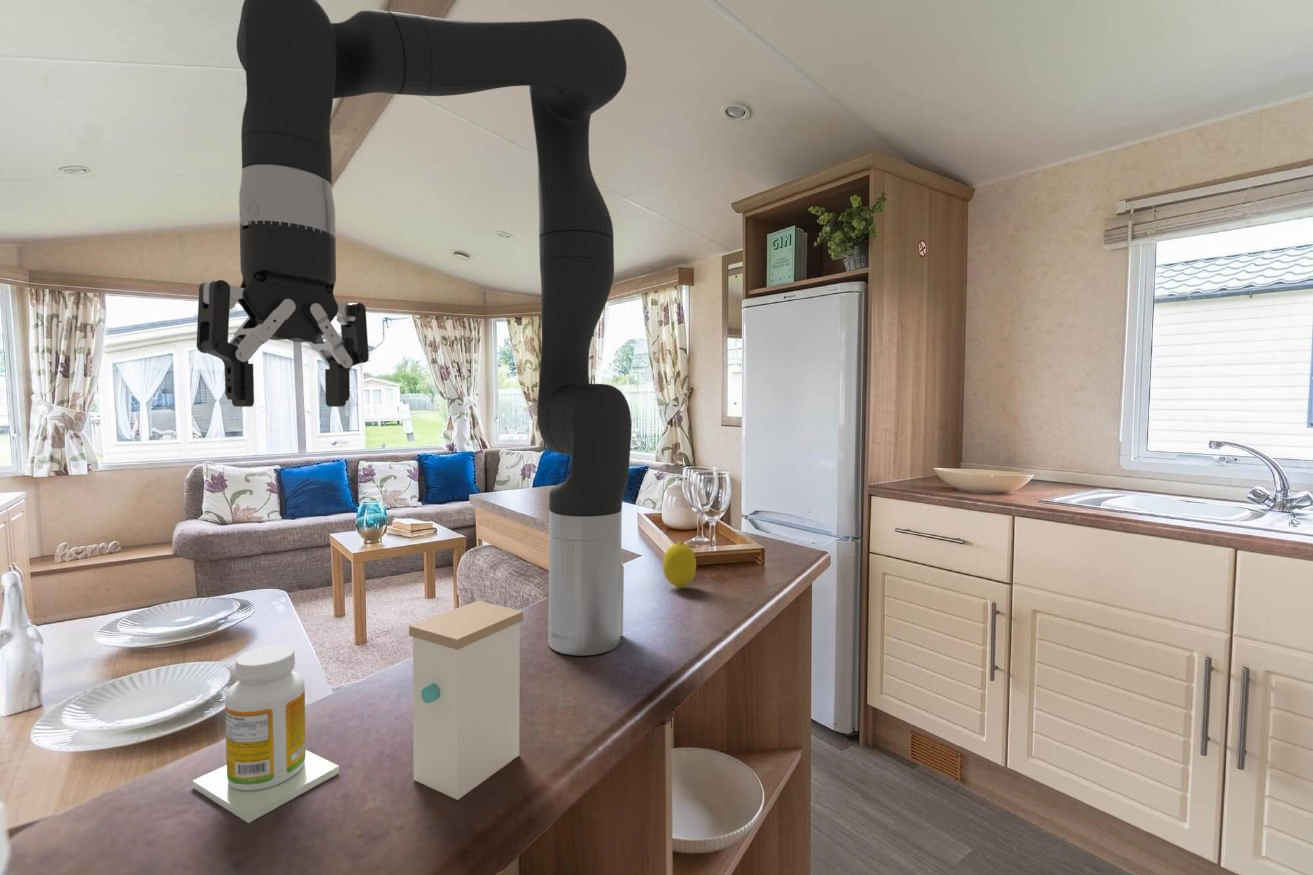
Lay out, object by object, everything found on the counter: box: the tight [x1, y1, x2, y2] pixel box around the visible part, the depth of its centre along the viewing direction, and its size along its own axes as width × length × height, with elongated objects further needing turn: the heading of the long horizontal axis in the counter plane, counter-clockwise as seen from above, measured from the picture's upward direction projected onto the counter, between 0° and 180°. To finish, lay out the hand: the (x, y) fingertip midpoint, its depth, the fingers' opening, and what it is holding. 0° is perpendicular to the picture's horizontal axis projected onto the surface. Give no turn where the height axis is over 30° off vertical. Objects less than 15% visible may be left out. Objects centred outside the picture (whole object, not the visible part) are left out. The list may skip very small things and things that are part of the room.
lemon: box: [662, 541, 697, 590], centre depth 102 cm, size 6×6×8 cm
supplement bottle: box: [224, 645, 306, 791], centre depth 49 cm, size 5×5×10 cm
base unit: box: [408, 600, 524, 801], centre depth 51 cm, size 8×5×13 cm
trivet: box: [192, 749, 340, 824], centre depth 49 cm, size 7×8×1 cm
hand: (292, 406), depth 57 cm, fingers open, 8 cm apart
